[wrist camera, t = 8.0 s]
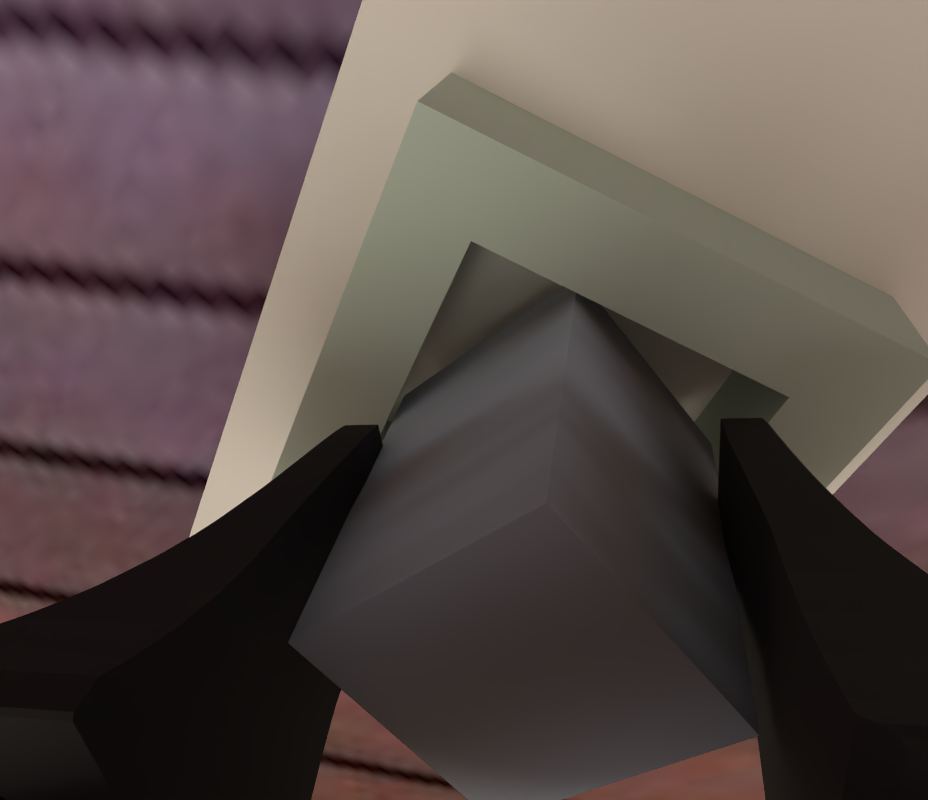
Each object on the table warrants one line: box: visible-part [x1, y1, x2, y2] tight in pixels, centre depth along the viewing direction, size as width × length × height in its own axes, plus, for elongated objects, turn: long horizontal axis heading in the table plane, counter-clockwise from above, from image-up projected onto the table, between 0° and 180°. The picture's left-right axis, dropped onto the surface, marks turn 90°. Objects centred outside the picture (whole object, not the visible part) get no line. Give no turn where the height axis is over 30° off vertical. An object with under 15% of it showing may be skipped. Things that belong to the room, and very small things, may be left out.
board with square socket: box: [189, 0, 928, 537], centre depth 15 cm, size 12×22×4 cm, turn 156°
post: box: [288, 286, 759, 800], centre depth 12 cm, size 4×4×6 cm
